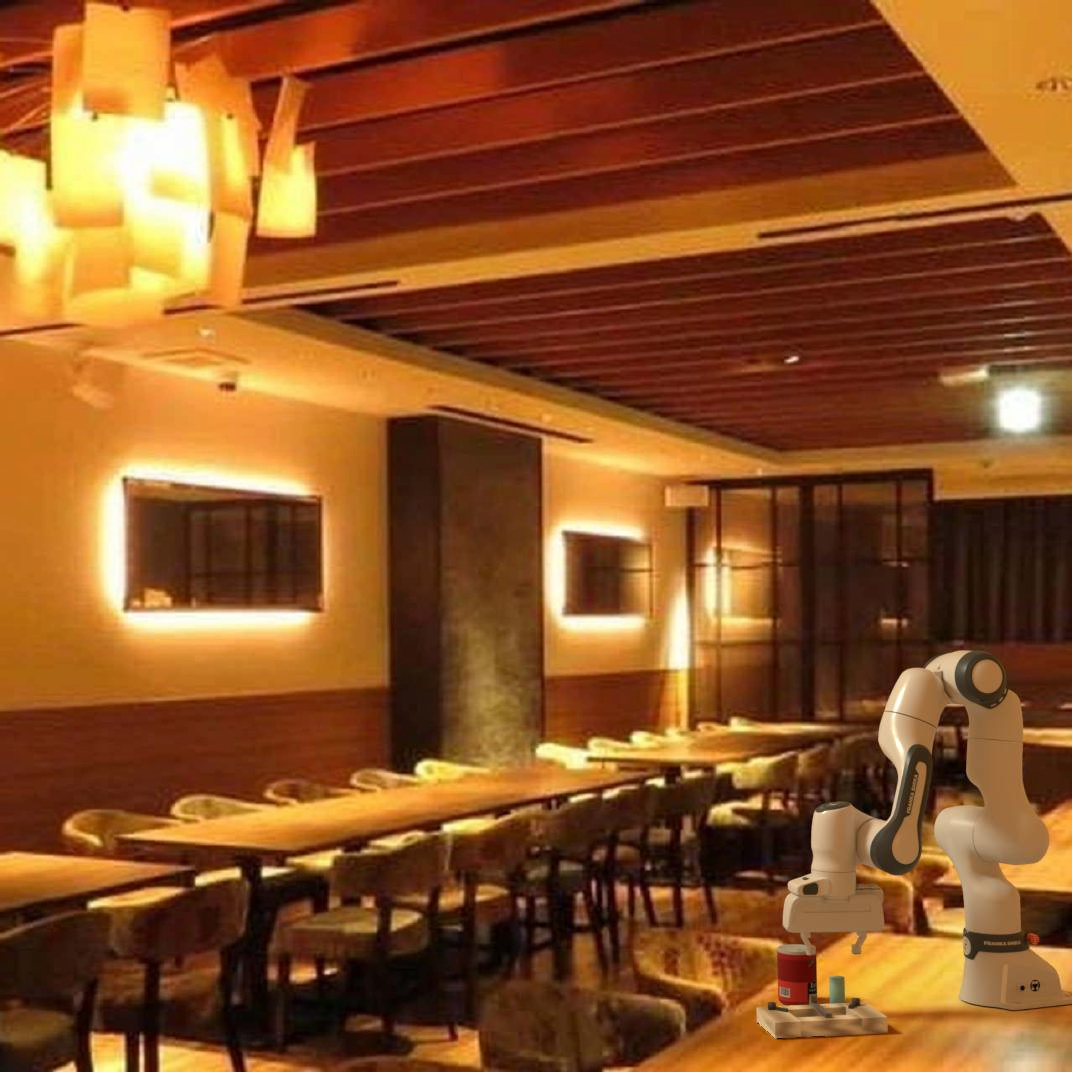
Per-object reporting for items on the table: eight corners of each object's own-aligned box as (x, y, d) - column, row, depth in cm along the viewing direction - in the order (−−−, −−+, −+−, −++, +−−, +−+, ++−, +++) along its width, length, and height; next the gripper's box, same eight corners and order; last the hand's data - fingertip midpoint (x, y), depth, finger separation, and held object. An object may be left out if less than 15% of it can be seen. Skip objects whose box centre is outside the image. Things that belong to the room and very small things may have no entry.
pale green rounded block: (842, 1010, 312) (841, 975, 312) (847, 1014, 309) (846, 978, 310) (827, 1011, 312) (827, 975, 312) (832, 1015, 309) (832, 979, 309)
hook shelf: (864, 1017, 307) (864, 990, 307) (887, 1033, 295) (887, 1005, 295) (756, 1022, 303) (756, 995, 304) (775, 1039, 291) (774, 1010, 292)
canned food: (817, 1007, 315) (815, 952, 316) (777, 1006, 317) (775, 951, 317) (817, 998, 322) (816, 944, 323) (778, 997, 324) (777, 943, 325)
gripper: (877, 881, 316) (877, 950, 315) (780, 882, 313) (780, 952, 312) (889, 886, 310) (889, 956, 309) (789, 887, 307) (789, 958, 306)
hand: (833, 954), depth 311 cm, fingers open, 8 cm apart
